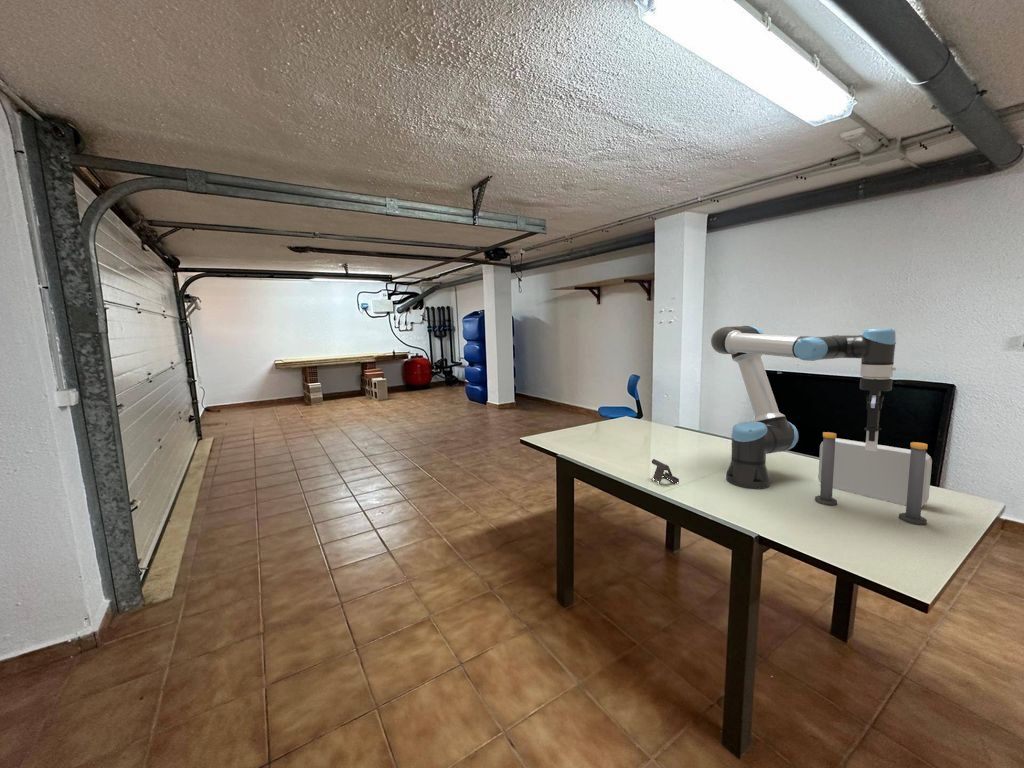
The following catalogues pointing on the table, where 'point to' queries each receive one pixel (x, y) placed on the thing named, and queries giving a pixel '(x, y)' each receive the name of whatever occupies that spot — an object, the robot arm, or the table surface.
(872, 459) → the rounded white slab
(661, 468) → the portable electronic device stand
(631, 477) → the table surface
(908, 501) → the cable post
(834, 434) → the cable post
